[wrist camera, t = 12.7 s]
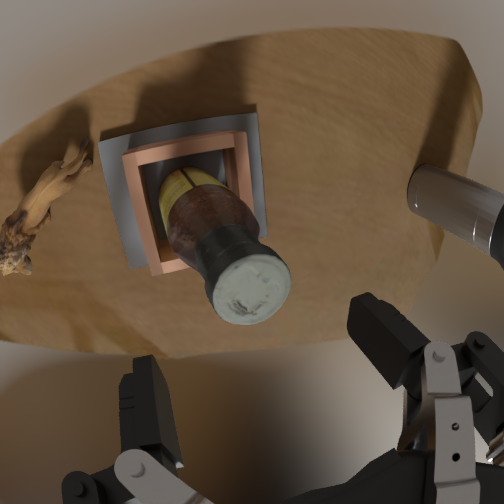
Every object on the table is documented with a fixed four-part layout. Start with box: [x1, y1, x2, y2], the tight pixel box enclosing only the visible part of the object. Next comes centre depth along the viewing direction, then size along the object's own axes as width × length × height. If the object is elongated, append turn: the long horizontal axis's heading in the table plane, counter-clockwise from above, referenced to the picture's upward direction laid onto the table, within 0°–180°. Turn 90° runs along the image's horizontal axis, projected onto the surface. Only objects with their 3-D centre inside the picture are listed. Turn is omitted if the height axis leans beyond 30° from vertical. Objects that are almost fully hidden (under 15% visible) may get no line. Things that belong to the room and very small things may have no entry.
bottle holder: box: [98, 113, 267, 276], centre depth 28 cm, size 17×15×6 cm
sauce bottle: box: [159, 167, 291, 325], centre depth 21 cm, size 6×6×20 cm
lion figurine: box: [0, 137, 93, 276], centre depth 22 cm, size 15×5×9 cm, turn 136°
